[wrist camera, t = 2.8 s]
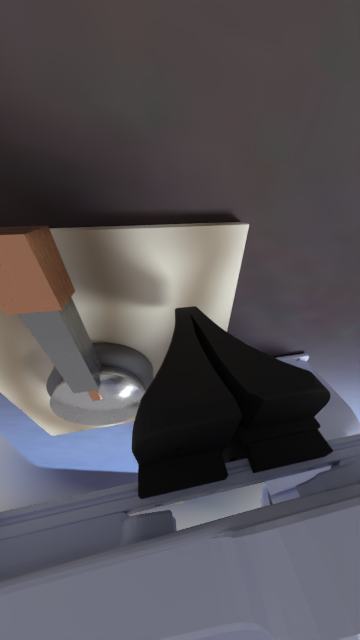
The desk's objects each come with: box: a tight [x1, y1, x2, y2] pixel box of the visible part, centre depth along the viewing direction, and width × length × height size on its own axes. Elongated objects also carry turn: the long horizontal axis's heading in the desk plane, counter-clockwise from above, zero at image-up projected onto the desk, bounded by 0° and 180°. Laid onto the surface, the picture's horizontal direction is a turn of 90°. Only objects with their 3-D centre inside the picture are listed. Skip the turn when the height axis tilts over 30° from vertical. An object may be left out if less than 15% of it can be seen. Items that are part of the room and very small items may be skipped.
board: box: [0, 222, 249, 436], centre depth 15 cm, size 20×22×2 cm
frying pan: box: [0, 226, 146, 426], centre depth 11 cm, size 7×16×2 cm, turn 1°
